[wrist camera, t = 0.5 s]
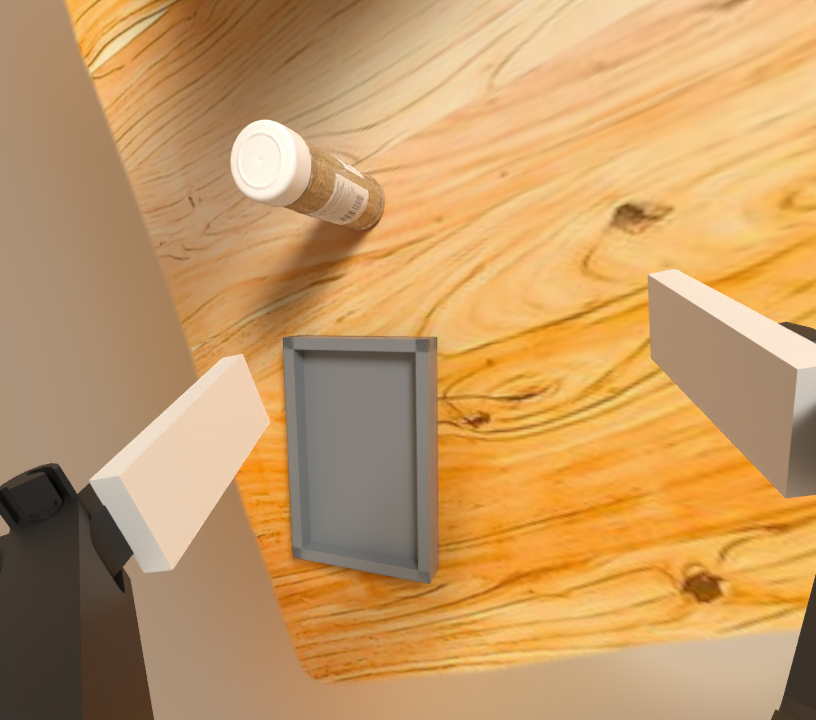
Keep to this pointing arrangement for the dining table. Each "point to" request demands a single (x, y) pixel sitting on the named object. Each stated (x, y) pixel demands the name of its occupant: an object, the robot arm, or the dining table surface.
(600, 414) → the dining table surface
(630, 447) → the dining table surface
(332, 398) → the tray
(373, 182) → the sprinkles bottle
